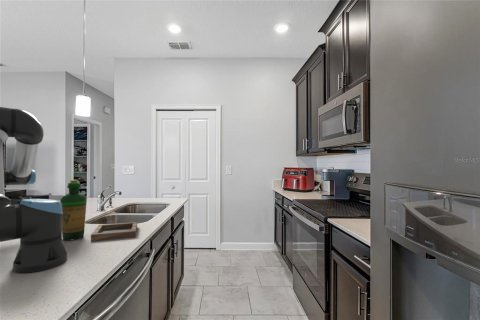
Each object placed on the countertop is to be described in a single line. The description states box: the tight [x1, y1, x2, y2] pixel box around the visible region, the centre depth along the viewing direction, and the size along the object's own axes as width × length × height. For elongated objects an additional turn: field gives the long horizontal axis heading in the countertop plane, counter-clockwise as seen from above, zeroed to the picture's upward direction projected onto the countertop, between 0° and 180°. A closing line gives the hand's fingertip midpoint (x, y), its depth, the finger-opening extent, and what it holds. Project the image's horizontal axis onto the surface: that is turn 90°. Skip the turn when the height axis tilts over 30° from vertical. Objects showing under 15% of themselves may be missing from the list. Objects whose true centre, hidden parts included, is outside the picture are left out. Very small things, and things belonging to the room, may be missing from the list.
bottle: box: [59, 179, 88, 241], centre depth 117 cm, size 11×11×28 cm
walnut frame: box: [90, 221, 138, 242], centre depth 124 cm, size 19×19×3 cm
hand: (54, 199), depth 116 cm, fingers open, 13 cm apart
